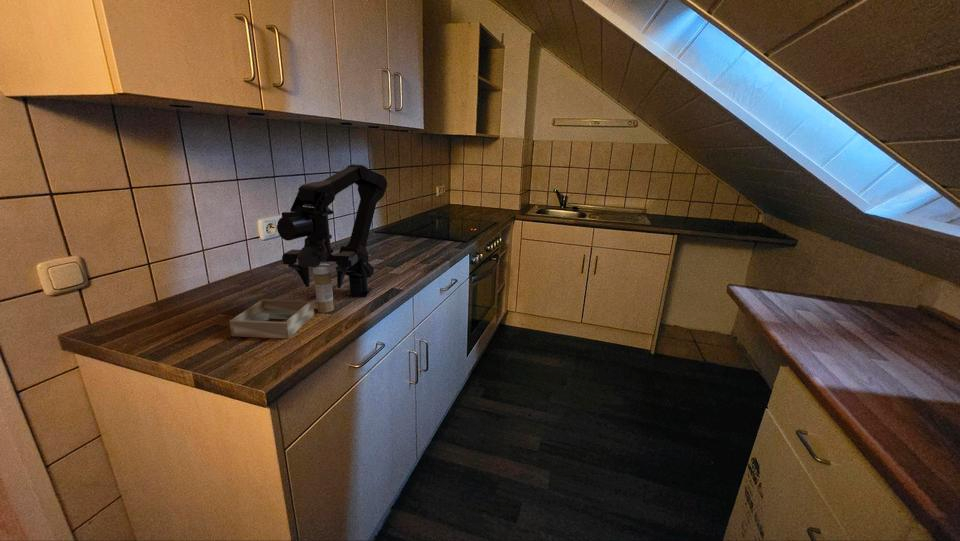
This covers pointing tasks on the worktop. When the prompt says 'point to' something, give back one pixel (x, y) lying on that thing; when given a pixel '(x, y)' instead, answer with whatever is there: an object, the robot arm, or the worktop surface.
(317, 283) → the sprinkles bottle
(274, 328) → the peg box
